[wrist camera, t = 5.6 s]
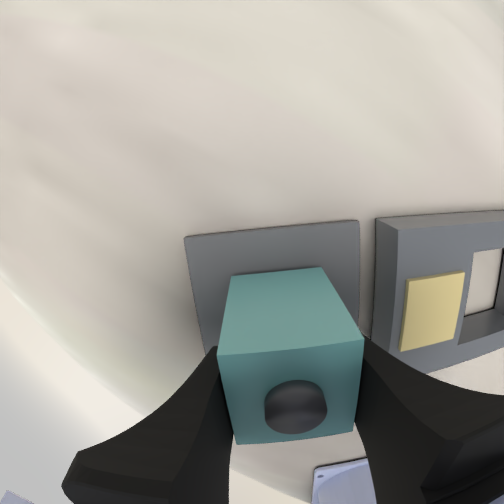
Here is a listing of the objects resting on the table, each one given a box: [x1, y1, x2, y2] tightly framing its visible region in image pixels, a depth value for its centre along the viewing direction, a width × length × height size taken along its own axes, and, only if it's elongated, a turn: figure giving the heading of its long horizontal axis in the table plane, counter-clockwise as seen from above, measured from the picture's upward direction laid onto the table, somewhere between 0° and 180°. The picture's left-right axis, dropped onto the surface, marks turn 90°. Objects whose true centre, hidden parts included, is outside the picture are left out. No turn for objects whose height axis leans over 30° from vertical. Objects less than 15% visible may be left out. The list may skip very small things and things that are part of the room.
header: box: [371, 210, 504, 374], centre depth 13 cm, size 8×14×3 cm, turn 96°
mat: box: [184, 220, 360, 355], centre depth 15 cm, size 8×8×1 cm
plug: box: [217, 267, 364, 445], centre depth 11 cm, size 4×4×7 cm
